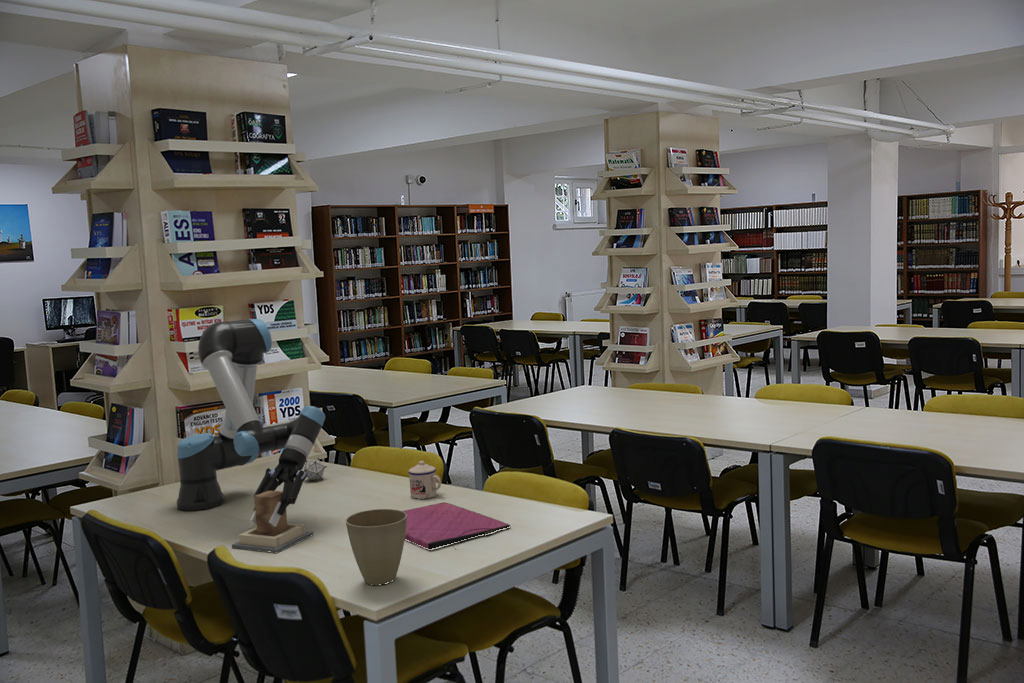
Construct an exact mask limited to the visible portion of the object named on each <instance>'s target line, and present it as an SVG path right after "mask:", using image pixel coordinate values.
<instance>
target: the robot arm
mask: <svg viewBox="0 0 1024 683" xmlns="http://www.w3.org/2000/svg"><path fill="white" fill-rule="evenodd" d="M272 342H273V341H272V335H271V331H270V329H269V326H268V325H267V324H266V322H264V320H262V319H260V318H247V319H237V320H229V321H227V320H226V321H218V322H214V323H212V324H210V325H208V326H207V328H206V329H205V330H204V331H203V332H202V334H201V336H200V338H199V342H198V346H197V347H198V352H197V354H198V358H199V360H200V364H201V365H202V367H203V368H204V369H205V370H207V371H208V372H209V374H210V377H211V379H212V381H213V383H214V385H215V388H216V391H217V392H218V394H219V396H220V398H221V401H222V403H223V405H224V408H225V413H224V423H223V424H221V425H220V426H219V429H218V435H213V433H208V432H204V433H197V434H193V435H189V436H187V437H185V438H182V439H180V441H179V442H178V443H177V447H176V448H177V454H176V457H177V461H178V471H179V480H180V486H179V491H178V496H177V500H176V508H178V511H179V510H180V511H183V510H187V511H186V512H190V510H191V512H194V511H193V510H196V511H202V510H201V509H204V510H209V509H213V508H216V507H218V505H219V506H220V505H223V504H224V503H225V496H224V495H225V494H224V492H222V489H221V486H220V483H219V481H218V478H217V477H218V476H217V471H220V470H224V469H230V468H233V467H237V466H239V467H241V466H245V465H247V464H250V463H253V462H254V461H255V460H256V459H257V458H258V456H259V454H263V453H268V452H273V451H278V450H282V451H281V454H280V455H279V458H278V463H277V465H276V466H275V468H272V469H271V468H269V467H268V468H266V469H265V473H264V476H263V477H262V480H261V481H260V483H259V485H258V487H257V489H256V491H255V493H254V494H253V497H254V496H255V495H258V494H261V493H263V492H266V491H277V490H276V489H277V488H278V487H279V486H281V485H282V484H283V489H282V492H283V493H282V499H280V501H281V502H282V503H281V502H278V503H277V505H276V508H275V510H274V512H273V514H272V516H271V518H270V520H269V523H270V524H271V525H272V526H274V527H276V526H277V524H278V521H279V519H280V517H281V515H283V514H284V512H285V510H286V511H287V507H288V506H289V505H295V503H296V502H297V499H298V496H299V494H300V491H301V488H302V486H303V483H304V482H305V480H306V479H307V475H306V474H305V472H304V468H305V464H306V460H307V461H308V459H307V458H308V457H309V455H310V453H311V451H312V448H313V446H314V445H315V442H316V440H317V438H318V436H319V433H320V432H321V429H322V427H323V425H324V422H325V420H326V414H325V413H324V411H323V410H321V409H320V408H318V407H316V406H313V405H305V406H304V407H303V408H302V410H301V411H300V413H299V415H298V417H296V418H295V419H293V420H291V421H289V422H286V423H280V424H275V425H270V426H269V425H268V426H263V424H262V423H261V420H260V418H259V416H258V413H257V411H256V409H255V408H254V395H255V389H256V387H255V386H256V378H257V369H258V365H259V364H261V363H262V362H263V356H264V354H267V353H269V352H270V350H271V349H272V345H273V344H272ZM222 503H223V504H222ZM212 507H213V508H212ZM208 508H209V509H208ZM249 521H250V522H251V523H252V524H254V525H255V526H257V525H256V513H255V507H254V508H253V513H252V515H251V517H250V519H249Z"/></svg>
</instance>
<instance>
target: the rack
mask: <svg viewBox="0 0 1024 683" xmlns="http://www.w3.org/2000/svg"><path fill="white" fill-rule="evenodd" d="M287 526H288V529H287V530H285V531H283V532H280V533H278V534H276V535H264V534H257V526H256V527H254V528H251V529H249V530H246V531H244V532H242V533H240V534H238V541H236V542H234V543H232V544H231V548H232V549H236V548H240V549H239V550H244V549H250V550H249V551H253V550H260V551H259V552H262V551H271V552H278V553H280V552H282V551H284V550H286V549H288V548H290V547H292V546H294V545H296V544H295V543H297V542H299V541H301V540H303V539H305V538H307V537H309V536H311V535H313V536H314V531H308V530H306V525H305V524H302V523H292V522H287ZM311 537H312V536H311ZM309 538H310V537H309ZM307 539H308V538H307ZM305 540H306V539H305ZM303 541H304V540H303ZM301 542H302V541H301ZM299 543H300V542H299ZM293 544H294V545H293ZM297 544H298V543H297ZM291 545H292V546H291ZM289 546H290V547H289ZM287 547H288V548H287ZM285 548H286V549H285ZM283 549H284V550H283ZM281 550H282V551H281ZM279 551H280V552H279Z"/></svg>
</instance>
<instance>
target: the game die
mask: <svg viewBox="0 0 1024 683" xmlns="http://www.w3.org/2000/svg"><path fill="white" fill-rule="evenodd" d="M327 467H328V466H327V465H325V466H324V464H323V463H322V462H321V461H320V457H317V459H312V460H308V459H307V460H306V462H305V465H304V467H303V471H304V472H305V474H306V475H307V477H306V479H308V483H310V482H311V481H314V480H319V479H320V480H322V481H324V478H323V475H324V472H325V469H326V468H327Z"/></svg>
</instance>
